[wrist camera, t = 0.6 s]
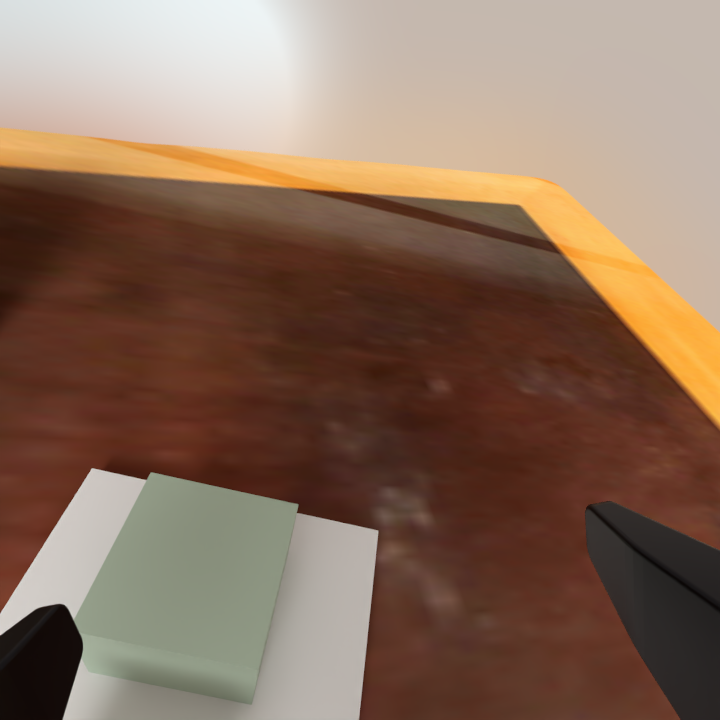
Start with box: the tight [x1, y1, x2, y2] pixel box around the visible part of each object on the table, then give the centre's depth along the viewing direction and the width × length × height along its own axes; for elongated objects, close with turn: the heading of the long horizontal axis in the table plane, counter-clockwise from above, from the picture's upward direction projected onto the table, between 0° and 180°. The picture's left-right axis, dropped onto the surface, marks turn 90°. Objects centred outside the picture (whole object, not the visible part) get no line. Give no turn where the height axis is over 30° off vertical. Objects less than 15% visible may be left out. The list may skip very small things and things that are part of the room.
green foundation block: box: [74, 472, 299, 705], centre depth 19 cm, size 6×6×4 cm
